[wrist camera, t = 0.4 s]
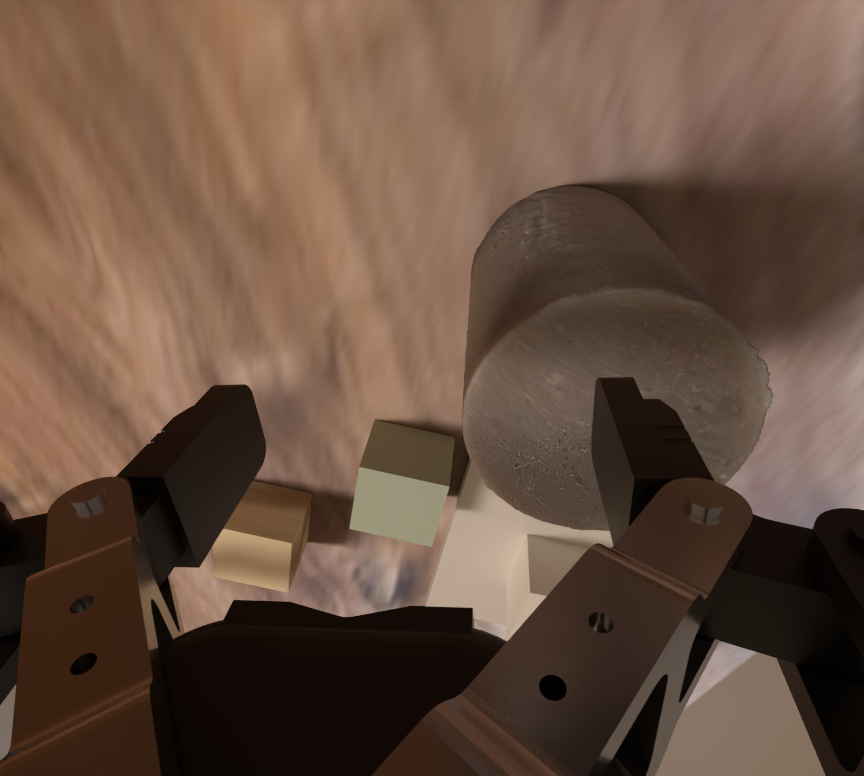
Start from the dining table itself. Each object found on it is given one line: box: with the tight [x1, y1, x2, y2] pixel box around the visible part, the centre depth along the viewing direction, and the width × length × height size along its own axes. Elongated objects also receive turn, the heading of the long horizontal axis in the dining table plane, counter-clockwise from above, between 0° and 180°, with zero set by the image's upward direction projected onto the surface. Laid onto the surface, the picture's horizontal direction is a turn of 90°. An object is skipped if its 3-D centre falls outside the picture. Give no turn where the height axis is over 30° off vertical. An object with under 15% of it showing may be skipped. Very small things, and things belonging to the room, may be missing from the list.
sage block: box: [349, 420, 455, 547], centre depth 35 cm, size 5×5×5 cm
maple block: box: [213, 481, 312, 593], centre depth 40 cm, size 5×5×5 cm
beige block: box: [506, 534, 589, 641], centre depth 38 cm, size 5×5×5 cm
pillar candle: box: [462, 186, 773, 531], centre depth 23 cm, size 10×10×15 cm
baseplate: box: [425, 458, 613, 626], centre depth 40 cm, size 16×16×1 cm
